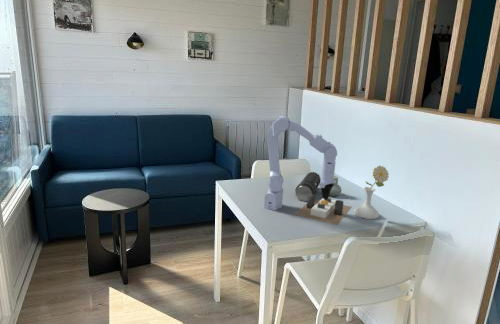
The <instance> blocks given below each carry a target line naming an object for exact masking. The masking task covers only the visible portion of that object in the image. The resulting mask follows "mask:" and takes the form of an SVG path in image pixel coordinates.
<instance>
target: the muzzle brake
mask: <svg viewBox="0 0 500 324" xmlns="http://www.w3.org/2000/svg"><path fill="white" fill-rule="evenodd" d="M320 180H321V176H320V174H319V173H317V172H314V171H311V172H308V173H307V174H306V175H305V176H304V178H303V179H302V180H301V181H300V183H298V185H296V188H295V191H294V192H295V196H296V198H297V200H300V201H301V202H307V196H308V195H309V194H312V195H315V193H316V191H317V189H318V187H320V183H321V182H320Z"/></svg>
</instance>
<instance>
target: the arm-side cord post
mask: <svg viewBox="0 0 500 324" xmlns="http://www.w3.org/2000/svg"><path fill="white" fill-rule="evenodd" d="M315 199H316V195H315V194H314V195H312V194H309V195H308V196H307V201H306V204H307V208H309V209H311V208H312V207H313V206H314V203H315Z"/></svg>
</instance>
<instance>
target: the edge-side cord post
mask: <svg viewBox="0 0 500 324" xmlns="http://www.w3.org/2000/svg"><path fill="white" fill-rule="evenodd" d="M335 200H336V199H335ZM343 205H344V200H341V199H337V200H336V201H335V210H334V214H336V215H342V211H343Z"/></svg>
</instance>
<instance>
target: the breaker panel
mask: <svg viewBox="0 0 500 324" xmlns="http://www.w3.org/2000/svg"><path fill="white" fill-rule="evenodd" d="M322 200H326V201H328V205H324V204H321V201H322ZM335 201H336V199H332V198H330V197H328V199H323V197H322V198H321V199H317V198H315V203H314V206H313V207H312V208H311V209H309V208H307V203H306V204H305V205H303V206H302V207H301V208H300V209H298V210H297V211H296V212H294V214H293V215H295V216H299V217H301V218H307V219H311V220H315V221H318V222H319V221H320V222H322V223H327V224H330V225H336V226H337V225H338V224H340V222H341V221H342V220H343V218H344V217H345V216H346V215H347V214H348V212H349V211H350V210H351V209H352V206H349V205H345V204H343V211H342V215H336V214H334V210H335Z"/></svg>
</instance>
